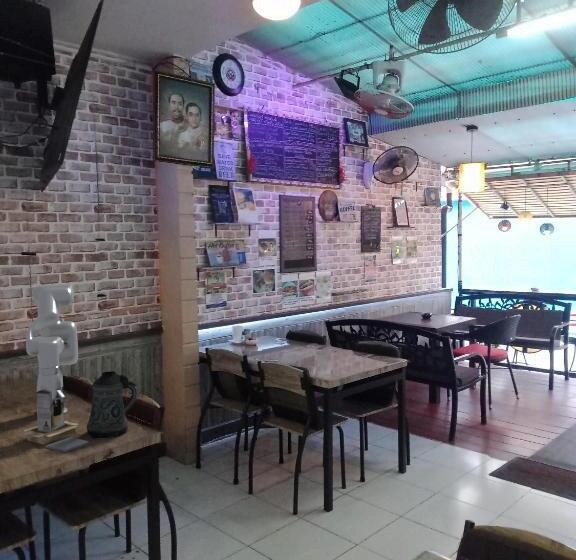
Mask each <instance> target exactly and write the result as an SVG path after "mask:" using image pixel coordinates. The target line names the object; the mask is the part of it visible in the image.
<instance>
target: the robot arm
mask: <svg viewBox="0 0 576 560" xmlns="http://www.w3.org/2000/svg"><path fill="white" fill-rule="evenodd" d="M31 293H32V298H33V302H34V304H35V306H36V308H37V317H36V318H35V320H33V321H32V322H31V324H30V325H29V327H28V328H27V330H26V335H25V338H26V339H25V349H26V350H25V351H26V353H27V355H29V356H30V357H37V361H38V371H39V372H38V375H37V380H36V381H37V384H36V391H35V393H36V392H38V391H40V390H42V391H47V392H51V401H53V400H54V405H55V406H54V416H58V415H61V414H62V413H61V405H62V403H63V401H65V399H66V396H65V395H64V392H63V393H62V387H63V388H64V383H63V382H64V381H63V379H64V378H63V373H62V371H61V370H60V366H71V365H75V364H77V362H78V359H79V342H78V328H77V325H76V323H75V322H74V321H69V320H68V321H67V320H66V321H65V320H64V321H61V320H60V307H70V306H72V305H73V304H74V301H75V300H74V299H75V294H74V293H75V291H74V288H73V286H72V285H71V284H66V283H65V284H41V285H40V284H39V285H36V286H35V287H33V288H32V291H31ZM38 332H39V334H40V336H39V337H35V335H37V333H38ZM65 343H67V344H65ZM56 396H57V398H56ZM56 400H58V402H56ZM67 412H68V408H67V407H65V406H64V414H65V413H67Z"/></svg>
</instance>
